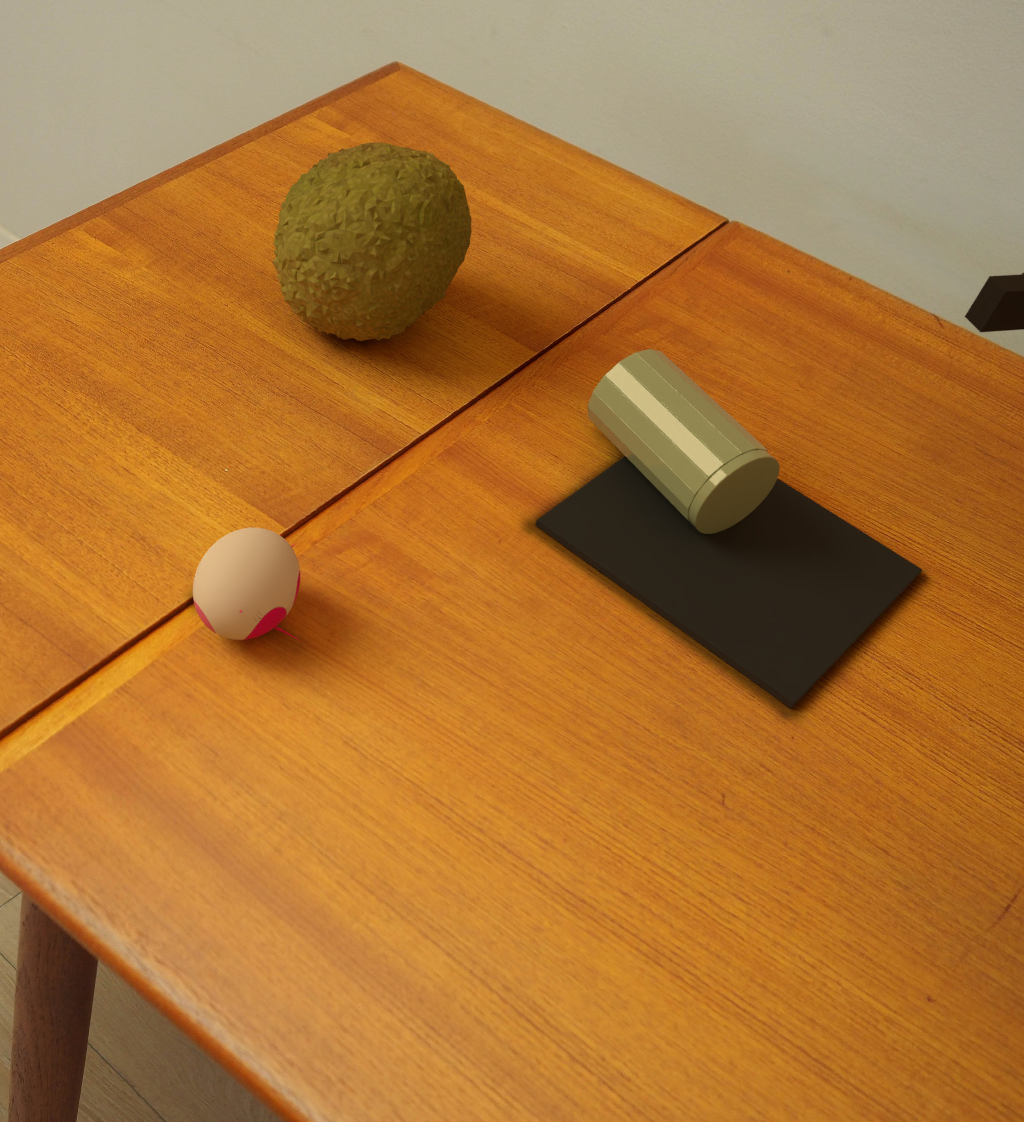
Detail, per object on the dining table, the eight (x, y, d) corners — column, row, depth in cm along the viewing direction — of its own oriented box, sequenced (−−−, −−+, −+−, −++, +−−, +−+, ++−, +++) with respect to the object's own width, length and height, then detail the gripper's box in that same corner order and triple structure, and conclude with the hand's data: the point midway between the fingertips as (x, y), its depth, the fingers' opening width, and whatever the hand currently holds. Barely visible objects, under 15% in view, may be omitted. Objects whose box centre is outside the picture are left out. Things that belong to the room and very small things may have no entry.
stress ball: (233, 699, 77) (297, 674, 72) (144, 604, 75) (203, 571, 70) (294, 619, 82) (359, 590, 77) (212, 528, 80) (272, 491, 75)
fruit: (250, 245, 106) (350, 83, 99) (393, 338, 108) (500, 185, 102) (225, 298, 91) (339, 112, 85) (390, 403, 94) (514, 230, 87)
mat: (919, 575, 87) (923, 569, 87) (791, 709, 78) (795, 703, 77) (677, 422, 96) (679, 416, 96) (534, 525, 86) (536, 519, 86)
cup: (797, 460, 85) (682, 355, 92) (743, 453, 81) (626, 343, 88) (733, 536, 89) (627, 429, 95) (678, 532, 84) (570, 421, 91)
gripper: (1347, 402, 75) (1022, 432, 69) (1189, 275, 83) (887, 292, 77) (1446, 296, 70) (1103, 319, 64) (1267, 171, 78) (949, 181, 72)
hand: (985, 304), depth 70 cm, fingers closed
